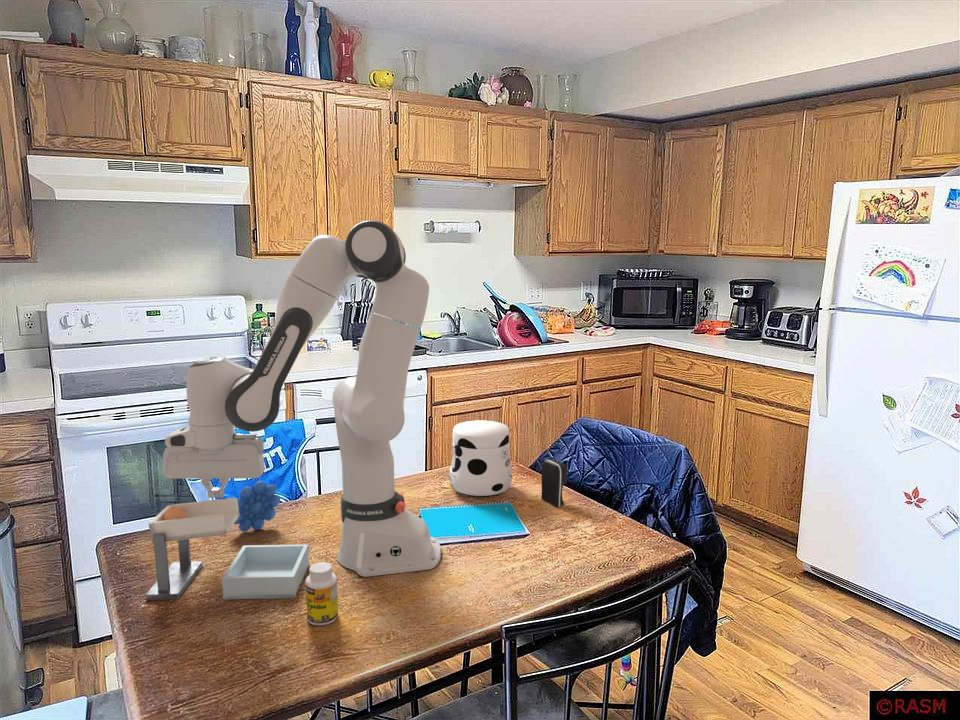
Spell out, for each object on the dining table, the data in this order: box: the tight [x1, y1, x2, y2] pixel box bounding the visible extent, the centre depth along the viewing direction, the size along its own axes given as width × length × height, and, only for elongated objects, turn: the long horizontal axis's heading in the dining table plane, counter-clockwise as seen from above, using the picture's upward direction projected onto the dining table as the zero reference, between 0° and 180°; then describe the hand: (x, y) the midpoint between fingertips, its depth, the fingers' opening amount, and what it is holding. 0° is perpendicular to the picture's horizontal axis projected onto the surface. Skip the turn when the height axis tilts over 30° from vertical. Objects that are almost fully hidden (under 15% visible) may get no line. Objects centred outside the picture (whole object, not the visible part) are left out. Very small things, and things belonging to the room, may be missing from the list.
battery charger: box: [540, 458, 568, 508], centre depth 174 cm, size 7×4×11 cm, turn 34°
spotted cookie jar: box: [448, 419, 513, 499], centre depth 182 cm, size 17×17×18 cm
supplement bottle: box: [305, 561, 339, 626], centre depth 121 cm, size 6×6×10 cm
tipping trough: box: [148, 497, 240, 544], centre depth 135 cm, size 14×16×4 cm
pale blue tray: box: [221, 544, 310, 600], centre depth 135 cm, size 14×14×4 cm
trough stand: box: [145, 533, 204, 601], centre depth 133 cm, size 6×13×13 cm, turn 3°
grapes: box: [233, 480, 281, 533], centre depth 158 cm, size 12×7×12 cm, turn 121°
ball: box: [164, 507, 186, 520], centre depth 131 cm, size 4×4×4 cm
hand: (216, 496), depth 141 cm, fingers closed
